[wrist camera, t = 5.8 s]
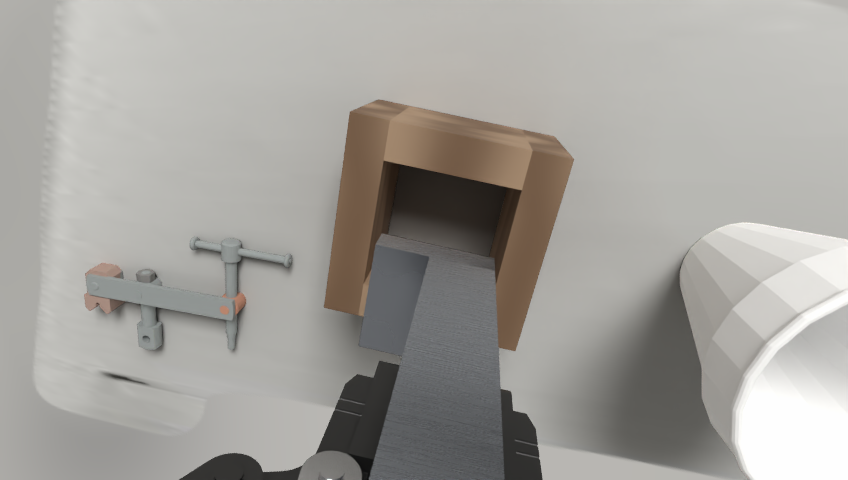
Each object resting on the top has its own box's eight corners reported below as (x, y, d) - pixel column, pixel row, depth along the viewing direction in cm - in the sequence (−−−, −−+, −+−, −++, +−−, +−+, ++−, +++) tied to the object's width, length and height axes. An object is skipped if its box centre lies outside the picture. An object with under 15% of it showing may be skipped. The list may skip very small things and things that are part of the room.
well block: (554, 136, 30) (573, 159, 24) (509, 294, 34) (515, 351, 28) (378, 99, 31) (349, 111, 24) (354, 259, 35) (324, 307, 28)
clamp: (88, 343, 38) (73, 220, 34) (109, 328, 40) (96, 211, 36) (280, 380, 37) (285, 257, 33) (291, 362, 39) (297, 246, 35)
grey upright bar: (494, 258, 19) (508, 555, 8) (468, 353, 20) (449, 714, 9) (381, 233, 19) (235, 488, 8) (365, 330, 21) (224, 655, 9)
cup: (818, 356, 33) (1026, 544, 20) (626, 352, 35) (709, 525, 22) (865, 176, 29) (1164, 272, 16) (645, 181, 30) (760, 272, 18)
